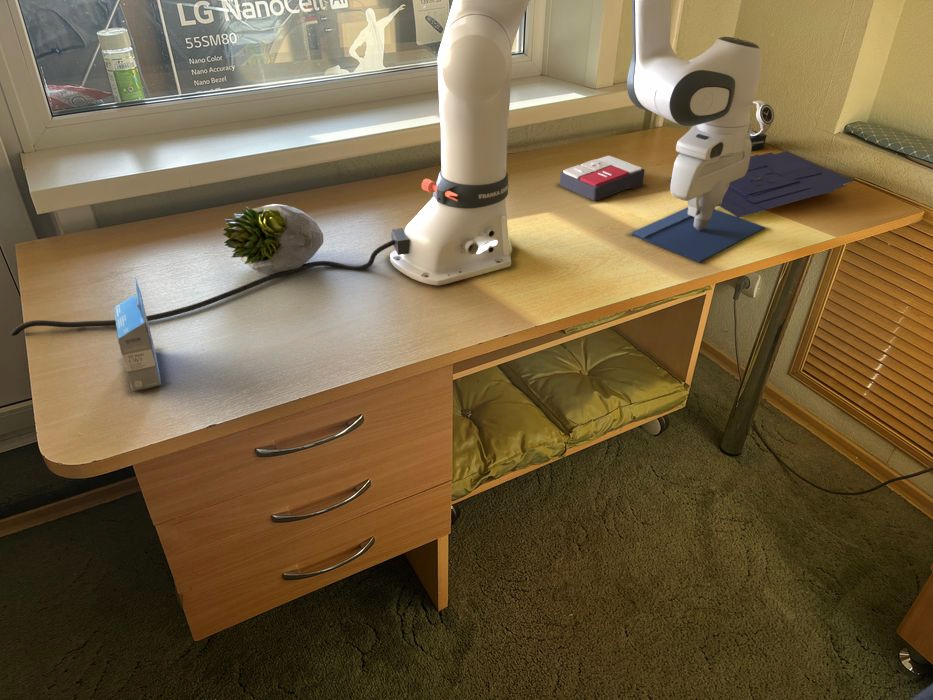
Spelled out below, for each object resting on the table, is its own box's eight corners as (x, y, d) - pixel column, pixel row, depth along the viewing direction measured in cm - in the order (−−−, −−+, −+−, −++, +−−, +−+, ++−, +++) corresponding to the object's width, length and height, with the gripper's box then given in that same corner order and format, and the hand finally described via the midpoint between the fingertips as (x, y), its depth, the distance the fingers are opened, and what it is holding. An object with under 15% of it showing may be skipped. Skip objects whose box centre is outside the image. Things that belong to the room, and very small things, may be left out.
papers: (859, 196, 147) (863, 179, 145) (737, 230, 141) (739, 213, 138) (779, 160, 166) (781, 144, 164) (667, 188, 160) (669, 173, 157)
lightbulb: (717, 238, 132) (730, 182, 126) (683, 235, 133) (695, 179, 127) (714, 225, 137) (727, 170, 131) (682, 222, 138) (693, 167, 132)
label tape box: (127, 357, 100) (102, 280, 93) (158, 351, 101) (136, 274, 94) (131, 392, 93) (105, 312, 86) (164, 385, 94) (141, 305, 87)
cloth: (699, 263, 125) (700, 259, 125) (631, 235, 134) (632, 231, 134) (764, 228, 137) (765, 225, 137) (698, 205, 146) (698, 202, 146)
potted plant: (335, 254, 119) (258, 261, 108) (296, 282, 128) (220, 291, 117) (312, 187, 120) (233, 188, 109) (274, 220, 129) (197, 223, 118)
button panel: (559, 169, 152) (608, 152, 160) (558, 188, 155) (607, 170, 162) (596, 184, 145) (646, 166, 152) (594, 204, 148) (643, 185, 155)
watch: (754, 153, 173) (765, 107, 167) (729, 144, 179) (739, 99, 173) (770, 149, 176) (781, 104, 169) (744, 140, 181) (754, 96, 175)
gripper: (735, 121, 133) (720, 191, 141) (670, 143, 122) (657, 218, 129) (766, 129, 129) (749, 201, 137) (702, 153, 118) (687, 230, 126)
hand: (704, 210), depth 133 cm, fingers closed on lightbulb, 6 cm apart
